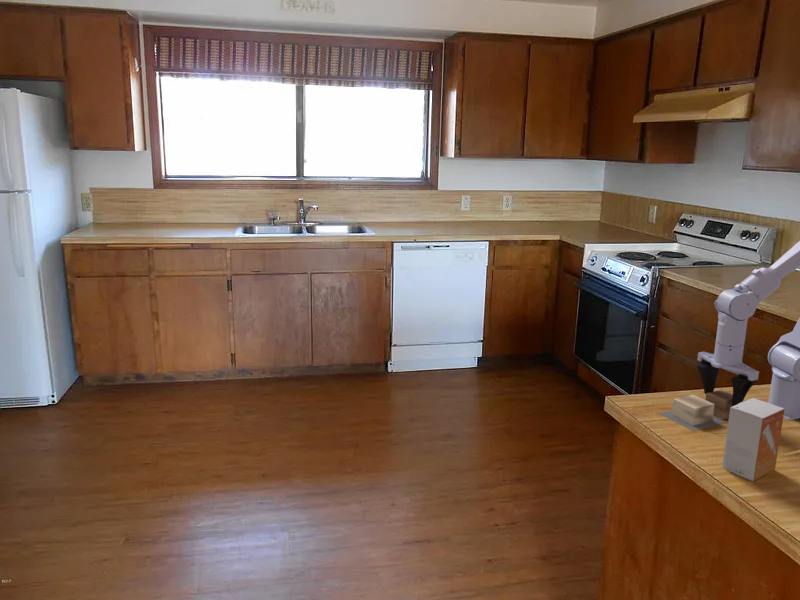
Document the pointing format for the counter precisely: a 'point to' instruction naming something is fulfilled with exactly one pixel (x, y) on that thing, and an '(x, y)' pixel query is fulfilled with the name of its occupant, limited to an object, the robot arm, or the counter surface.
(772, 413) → the small box
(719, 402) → the walnut block
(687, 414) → the maple block
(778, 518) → the counter surface
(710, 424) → the mat
